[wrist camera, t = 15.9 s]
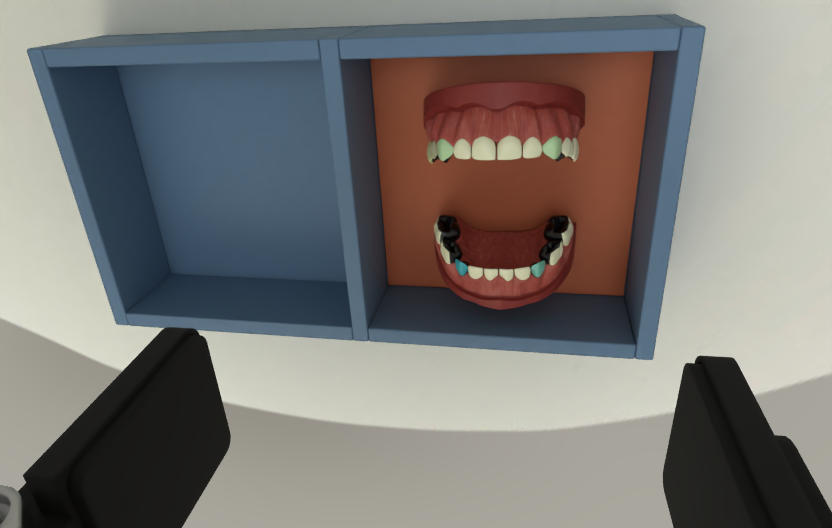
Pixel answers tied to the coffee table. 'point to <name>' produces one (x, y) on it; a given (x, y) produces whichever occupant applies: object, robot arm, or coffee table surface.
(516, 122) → the dentures
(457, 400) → the coffee table surface
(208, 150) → the storage tray
